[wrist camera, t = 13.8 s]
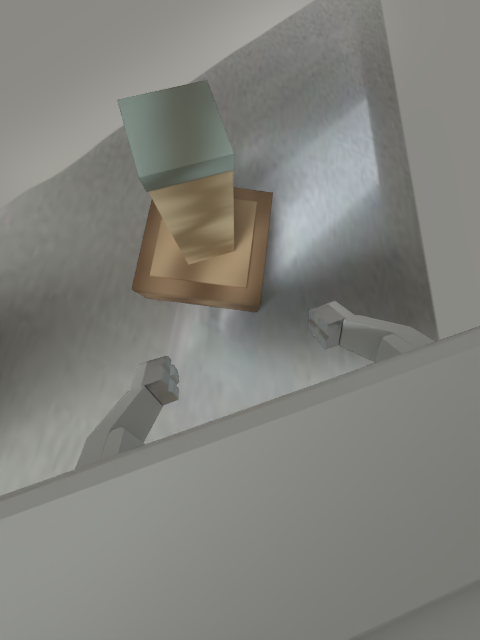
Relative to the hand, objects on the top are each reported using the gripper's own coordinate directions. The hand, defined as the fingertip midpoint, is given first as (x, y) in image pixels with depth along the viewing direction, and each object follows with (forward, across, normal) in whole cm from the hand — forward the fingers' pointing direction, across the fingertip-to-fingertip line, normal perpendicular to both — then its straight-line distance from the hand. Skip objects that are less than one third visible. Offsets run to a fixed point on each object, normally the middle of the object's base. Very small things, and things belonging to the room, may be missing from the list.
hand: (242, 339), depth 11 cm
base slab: (+14, 0, -1) cm, 14 cm away
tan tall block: (+12, 0, -3) cm, 12 cm away
